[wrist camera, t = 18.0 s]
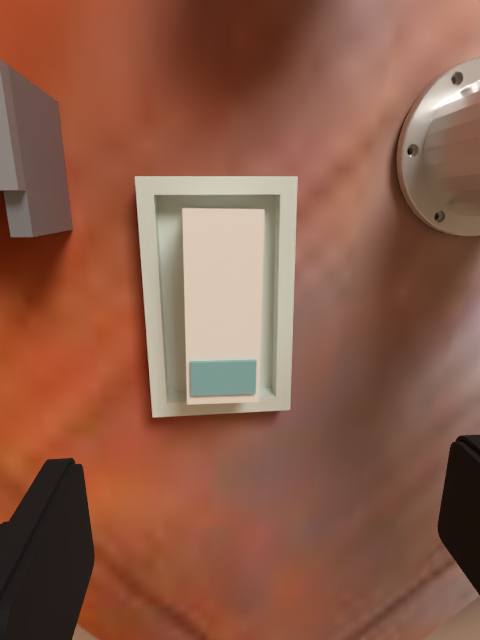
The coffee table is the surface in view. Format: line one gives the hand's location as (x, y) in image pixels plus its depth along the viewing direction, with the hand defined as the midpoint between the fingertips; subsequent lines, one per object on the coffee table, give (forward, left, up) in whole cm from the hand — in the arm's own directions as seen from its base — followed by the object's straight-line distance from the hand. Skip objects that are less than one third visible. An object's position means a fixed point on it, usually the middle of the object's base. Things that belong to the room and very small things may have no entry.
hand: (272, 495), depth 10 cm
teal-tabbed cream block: (0, 0, -23) cm, 23 cm away
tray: (0, 0, -23) cm, 23 cm away
